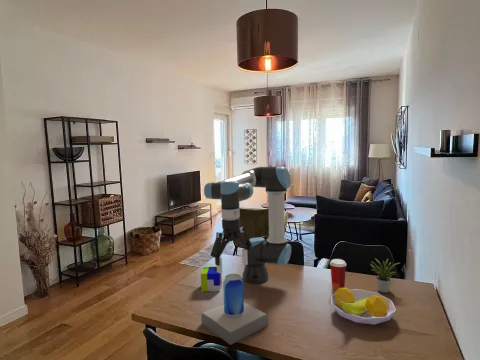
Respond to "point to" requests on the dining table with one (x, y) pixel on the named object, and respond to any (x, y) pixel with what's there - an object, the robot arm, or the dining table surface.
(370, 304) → the fruit bowl
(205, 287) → the puzzle toy
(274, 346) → the dining table surface
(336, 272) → the coffee cup
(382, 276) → the house plant
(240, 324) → the plinth
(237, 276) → the beer can
